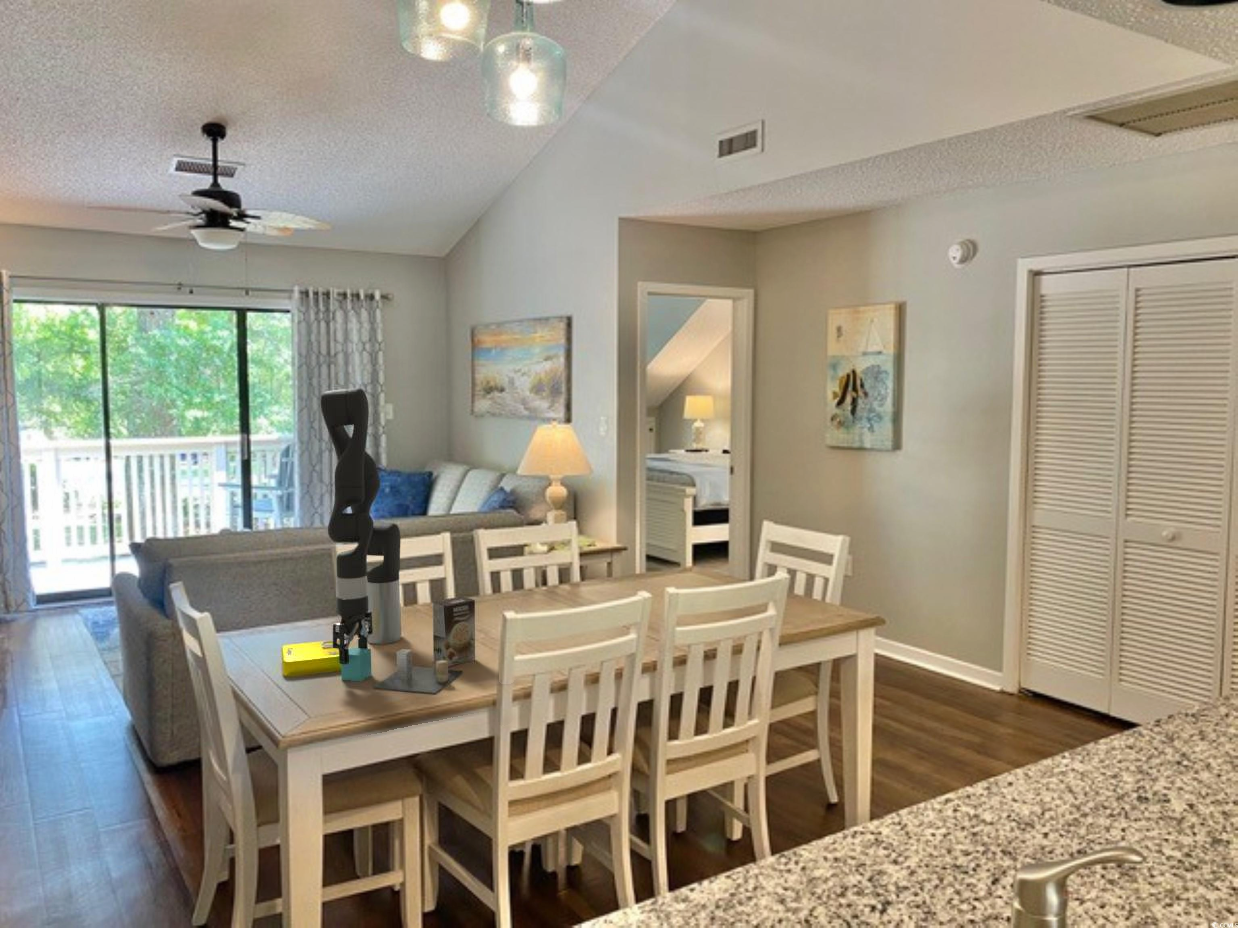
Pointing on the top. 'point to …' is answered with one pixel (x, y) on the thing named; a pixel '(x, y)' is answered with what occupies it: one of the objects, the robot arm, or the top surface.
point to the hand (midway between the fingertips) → (353, 658)
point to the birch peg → (441, 671)
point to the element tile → (310, 658)
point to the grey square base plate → (414, 677)
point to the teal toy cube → (357, 665)
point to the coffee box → (454, 630)
